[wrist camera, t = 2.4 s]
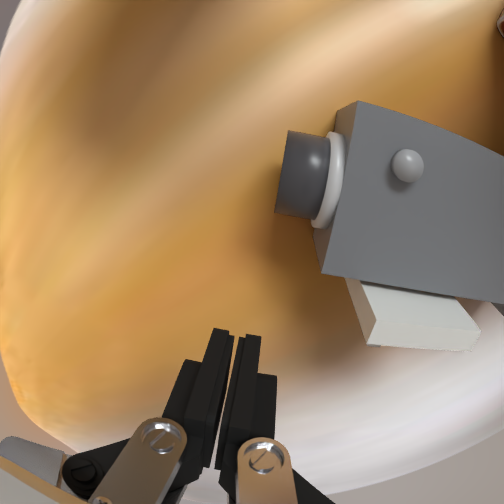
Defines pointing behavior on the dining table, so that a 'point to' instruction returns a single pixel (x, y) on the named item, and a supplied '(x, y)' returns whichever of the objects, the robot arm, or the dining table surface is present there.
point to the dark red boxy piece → (501, 23)
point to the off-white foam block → (411, 318)
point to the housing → (399, 203)
